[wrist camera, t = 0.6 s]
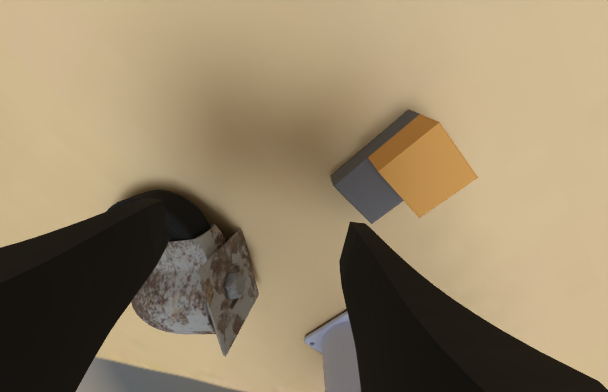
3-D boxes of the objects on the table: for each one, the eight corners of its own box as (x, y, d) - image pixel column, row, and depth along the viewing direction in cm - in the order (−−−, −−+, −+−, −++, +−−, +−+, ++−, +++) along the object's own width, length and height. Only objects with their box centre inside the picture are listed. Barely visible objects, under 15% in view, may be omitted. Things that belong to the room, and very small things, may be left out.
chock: (440, 153, 19) (478, 177, 15) (365, 210, 21) (380, 244, 17) (407, 109, 17) (439, 122, 13) (330, 175, 20) (338, 203, 16)
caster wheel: (132, 189, 23) (234, 173, 20) (171, 297, 25) (264, 293, 23) (46, 217, 16) (181, 198, 14) (112, 356, 19) (232, 359, 17)
